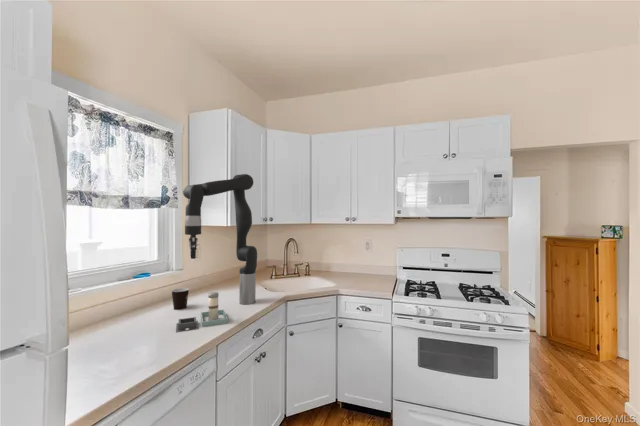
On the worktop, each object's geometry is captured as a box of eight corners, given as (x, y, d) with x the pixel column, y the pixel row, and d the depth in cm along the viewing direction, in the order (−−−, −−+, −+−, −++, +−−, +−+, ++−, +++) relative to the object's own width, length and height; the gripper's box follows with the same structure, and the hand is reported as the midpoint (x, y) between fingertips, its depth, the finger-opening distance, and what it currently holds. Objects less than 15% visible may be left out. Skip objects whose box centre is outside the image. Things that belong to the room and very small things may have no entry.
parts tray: (200, 318, 145) (200, 312, 145) (223, 315, 150) (223, 309, 150) (202, 328, 131) (202, 322, 131) (227, 325, 136) (227, 318, 136)
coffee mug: (181, 310, 157) (182, 292, 157) (167, 310, 159) (168, 291, 159) (195, 304, 169) (195, 287, 169) (182, 303, 170) (182, 286, 170)
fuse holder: (176, 325, 136) (176, 317, 136) (197, 322, 139) (197, 315, 140) (175, 334, 125) (175, 326, 125) (198, 331, 129) (198, 323, 129)
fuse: (207, 319, 142) (208, 292, 142) (217, 318, 144) (218, 291, 144) (208, 323, 137) (208, 295, 138) (218, 321, 139) (218, 294, 140)
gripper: (202, 225, 141) (201, 259, 141) (200, 224, 154) (200, 255, 154) (184, 225, 138) (184, 260, 137) (184, 224, 151) (184, 256, 150)
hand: (193, 257), depth 146 cm, fingers open, 8 cm apart
